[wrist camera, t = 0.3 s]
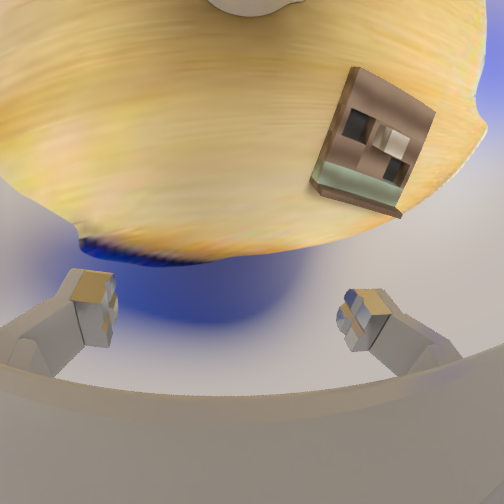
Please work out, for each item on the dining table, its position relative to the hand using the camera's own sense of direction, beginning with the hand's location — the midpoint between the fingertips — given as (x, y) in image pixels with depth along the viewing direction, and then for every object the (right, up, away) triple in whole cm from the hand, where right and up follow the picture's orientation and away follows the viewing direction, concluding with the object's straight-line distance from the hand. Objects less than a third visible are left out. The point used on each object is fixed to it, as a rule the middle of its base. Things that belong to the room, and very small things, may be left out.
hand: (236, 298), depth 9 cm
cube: (+23, +21, +33) cm, 45 cm away
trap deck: (+22, +21, +36) cm, 47 cm away
